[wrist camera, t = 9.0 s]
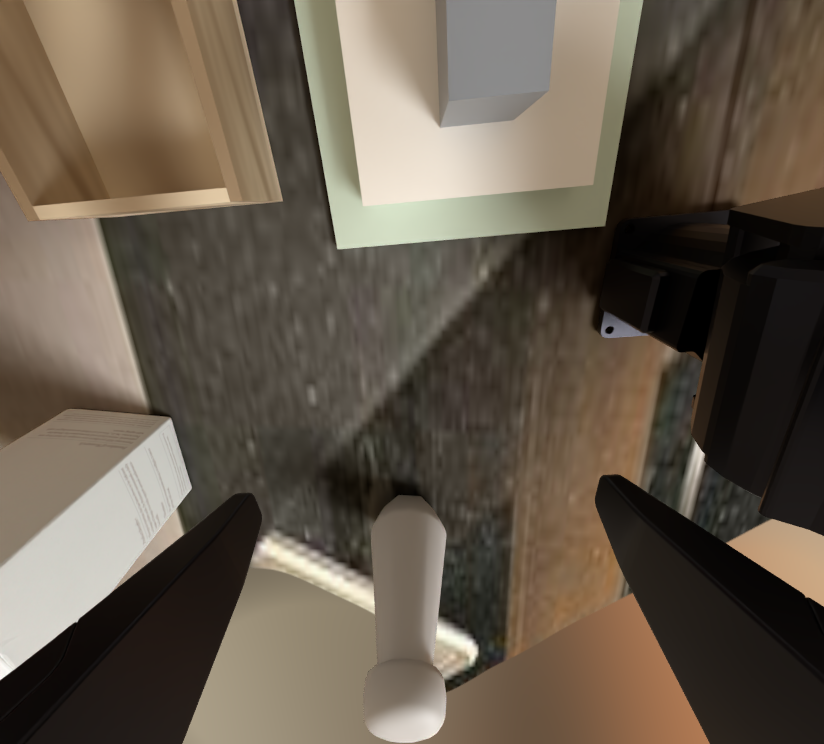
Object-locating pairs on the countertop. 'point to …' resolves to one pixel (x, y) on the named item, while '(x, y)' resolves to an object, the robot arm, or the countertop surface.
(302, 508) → the countertop surface
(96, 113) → the box
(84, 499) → the supplement box
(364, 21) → the lid
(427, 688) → the salt shaker
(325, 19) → the mat
